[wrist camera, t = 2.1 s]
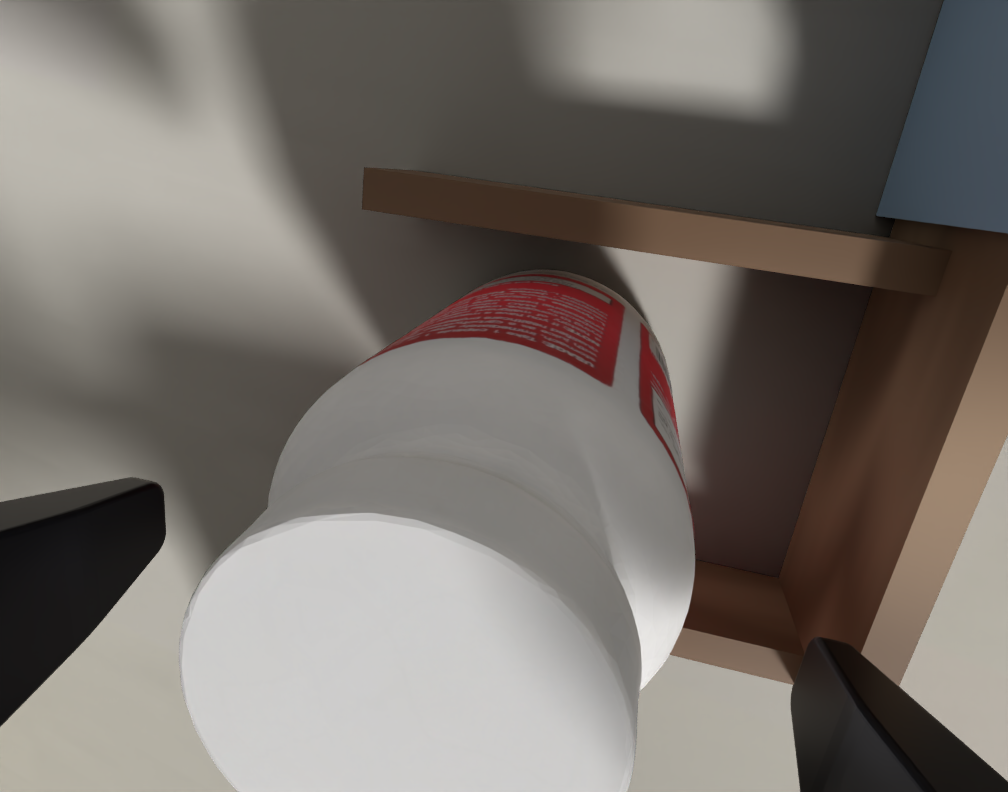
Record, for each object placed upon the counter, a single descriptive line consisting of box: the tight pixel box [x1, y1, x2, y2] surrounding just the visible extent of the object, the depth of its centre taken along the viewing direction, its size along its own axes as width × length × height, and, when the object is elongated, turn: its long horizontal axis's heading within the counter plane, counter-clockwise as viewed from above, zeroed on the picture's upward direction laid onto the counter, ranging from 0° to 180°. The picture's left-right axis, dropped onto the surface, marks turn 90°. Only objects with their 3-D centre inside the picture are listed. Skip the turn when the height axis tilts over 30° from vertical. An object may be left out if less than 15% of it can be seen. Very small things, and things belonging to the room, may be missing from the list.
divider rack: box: [362, 0, 1008, 686], centre depth 12 cm, size 18×12×6 cm, turn 172°
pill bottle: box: [179, 270, 695, 792], centre depth 11 cm, size 6×6×11 cm
